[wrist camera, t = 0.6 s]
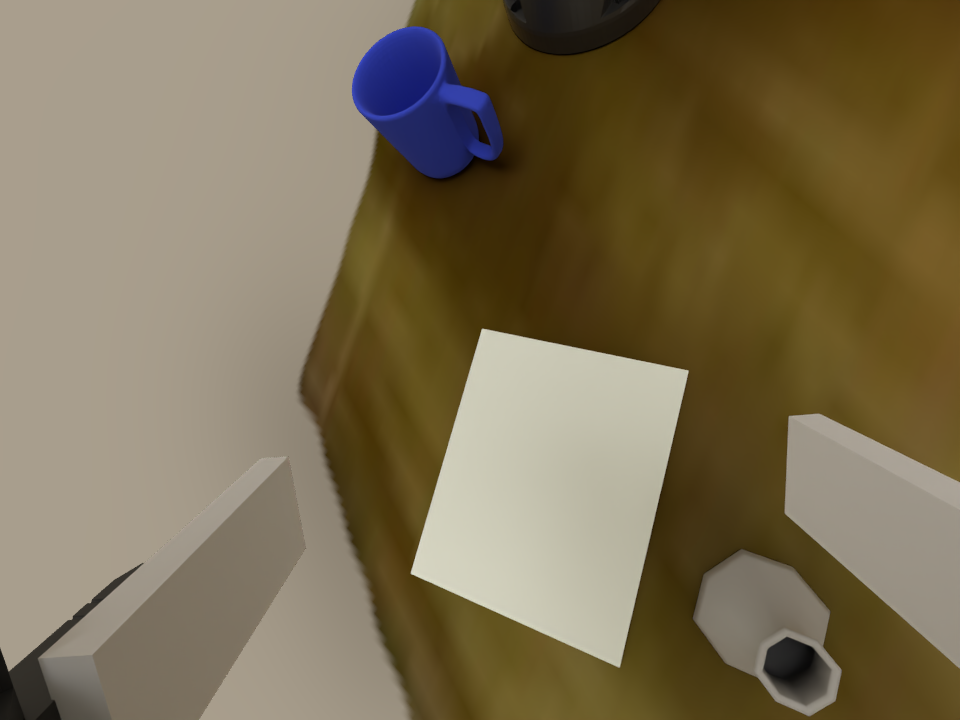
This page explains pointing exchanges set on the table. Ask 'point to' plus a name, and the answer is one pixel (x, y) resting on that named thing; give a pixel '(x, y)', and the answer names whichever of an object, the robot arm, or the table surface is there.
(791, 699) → the flask
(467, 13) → the table surface
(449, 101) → the mug
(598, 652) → the white rectangular board
